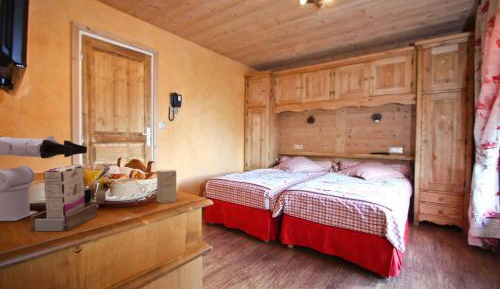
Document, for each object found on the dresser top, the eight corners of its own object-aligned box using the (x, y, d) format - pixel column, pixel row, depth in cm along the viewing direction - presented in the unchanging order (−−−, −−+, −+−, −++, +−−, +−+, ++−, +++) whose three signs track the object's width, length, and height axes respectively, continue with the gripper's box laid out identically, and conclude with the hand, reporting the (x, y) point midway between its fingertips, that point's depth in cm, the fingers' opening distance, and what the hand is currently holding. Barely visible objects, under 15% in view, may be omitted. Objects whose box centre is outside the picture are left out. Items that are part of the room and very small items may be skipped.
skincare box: (161, 204, 91) (161, 172, 90) (156, 201, 94) (156, 170, 94) (177, 201, 95) (176, 170, 95) (172, 198, 98) (171, 169, 98)
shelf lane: (30, 230, 66) (30, 216, 66) (63, 216, 77) (63, 203, 77) (70, 230, 66) (69, 216, 66) (97, 215, 78) (96, 203, 77)
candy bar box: (68, 216, 77) (67, 165, 76) (86, 215, 78) (84, 165, 77) (44, 230, 66) (42, 170, 65) (65, 229, 67) (63, 170, 66)
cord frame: (35, 231, 65) (34, 212, 65) (93, 204, 90) (93, 190, 90) (62, 230, 65) (62, 212, 65) (113, 204, 90) (113, 190, 90)
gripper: (14, 133, 69) (65, 136, 70) (51, 136, 83) (92, 138, 85) (12, 158, 69) (63, 160, 70) (49, 156, 83) (91, 158, 84)
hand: (79, 149), depth 77 cm, fingers open, 7 cm apart
